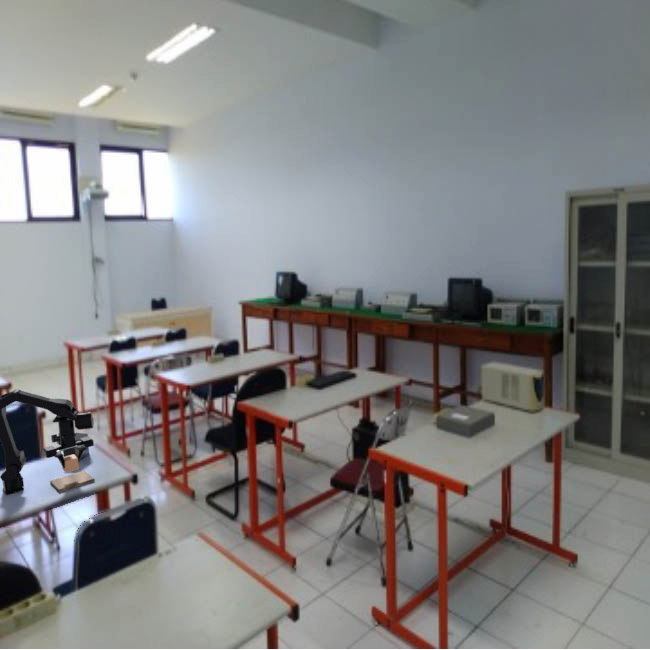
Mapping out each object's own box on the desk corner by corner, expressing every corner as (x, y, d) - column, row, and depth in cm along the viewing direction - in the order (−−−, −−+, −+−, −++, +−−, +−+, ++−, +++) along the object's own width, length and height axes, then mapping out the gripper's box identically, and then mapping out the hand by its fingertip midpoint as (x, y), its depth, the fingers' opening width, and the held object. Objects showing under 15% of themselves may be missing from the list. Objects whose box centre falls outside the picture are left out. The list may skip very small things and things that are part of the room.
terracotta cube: (66, 472, 230) (65, 461, 229) (62, 468, 233) (61, 457, 232) (79, 469, 233) (77, 457, 232) (74, 465, 237) (73, 454, 236)
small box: (76, 463, 253) (73, 441, 251) (63, 462, 254) (61, 440, 252) (90, 454, 263) (88, 433, 261) (77, 453, 264) (75, 432, 262)
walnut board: (59, 492, 226) (58, 489, 225) (50, 483, 234) (50, 480, 233) (94, 481, 235) (93, 478, 235) (84, 472, 243) (84, 470, 243)
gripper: (83, 420, 242) (86, 454, 245) (36, 431, 230) (40, 466, 233) (92, 426, 234) (95, 461, 237) (44, 438, 222) (48, 475, 225)
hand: (70, 466), depth 233 cm, fingers closed on terracotta cube, 5 cm apart
